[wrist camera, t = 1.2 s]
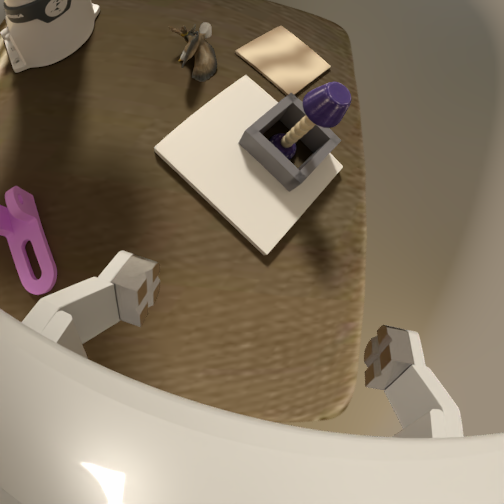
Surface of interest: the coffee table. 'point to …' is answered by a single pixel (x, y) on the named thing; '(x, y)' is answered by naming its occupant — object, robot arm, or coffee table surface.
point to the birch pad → (283, 60)
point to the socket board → (250, 161)
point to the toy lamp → (315, 115)
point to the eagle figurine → (198, 51)
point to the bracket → (20, 232)
